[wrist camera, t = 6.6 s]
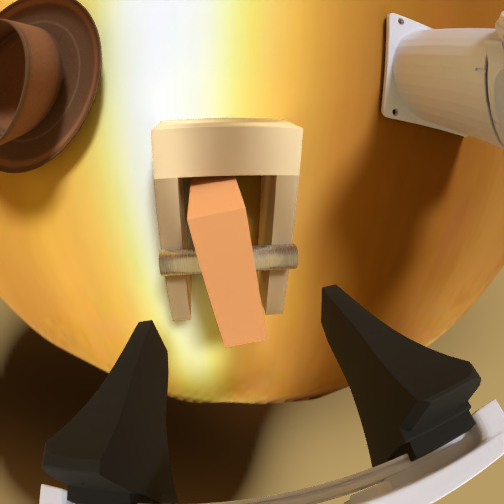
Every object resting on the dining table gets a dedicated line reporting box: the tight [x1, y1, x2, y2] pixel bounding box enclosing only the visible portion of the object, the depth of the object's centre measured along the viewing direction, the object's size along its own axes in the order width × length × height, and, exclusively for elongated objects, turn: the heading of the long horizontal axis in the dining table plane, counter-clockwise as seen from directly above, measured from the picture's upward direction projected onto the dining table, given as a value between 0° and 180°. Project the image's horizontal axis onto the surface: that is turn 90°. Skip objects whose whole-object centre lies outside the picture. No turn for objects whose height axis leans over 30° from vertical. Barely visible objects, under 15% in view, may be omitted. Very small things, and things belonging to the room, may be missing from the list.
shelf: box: [151, 118, 303, 321], centre depth 18 cm, size 7×12×5 cm, turn 178°
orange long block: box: [187, 175, 267, 348], centre depth 17 cm, size 2×8×6 cm, turn 9°
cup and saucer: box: [0, 0, 102, 173], centre depth 10 cm, size 12×12×6 cm
